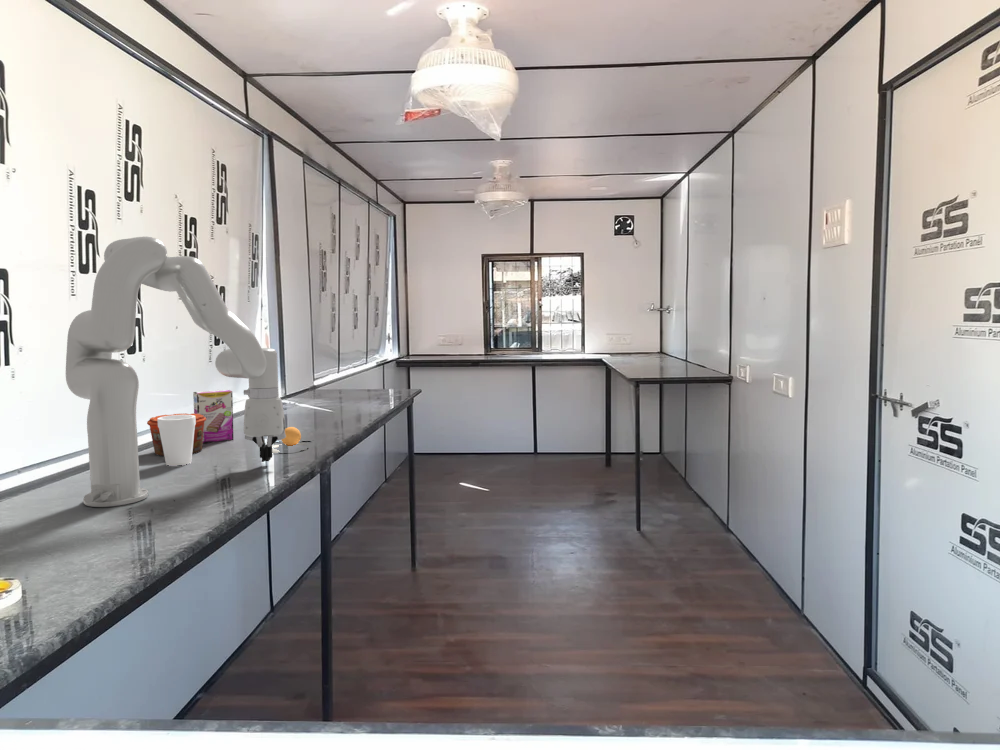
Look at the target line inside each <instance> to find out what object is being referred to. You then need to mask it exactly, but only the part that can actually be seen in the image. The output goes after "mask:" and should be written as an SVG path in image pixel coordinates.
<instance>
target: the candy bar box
mask: <svg viewBox="0 0 1000 750" xmlns="http://www.w3.org/2000/svg"><path fill="white" fill-rule="evenodd" d="M233 400H234V399H233V391H232V390H230V389H220V390H219V389H217V390H201V391H200V390H199V391H193V414H201V415H203V416H204V417H205V418H206V421H205V422H204V430H203V443H202V444H206V443H216V442H222V441H223V442H224V441H232V439H233V440H234V408H233V403H234V402H233Z"/></svg>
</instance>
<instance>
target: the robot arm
mask: <svg viewBox="0 0 1000 750" xmlns="http://www.w3.org/2000/svg"><path fill="white" fill-rule="evenodd" d="M103 259H104V262H103V263H102V264H101V266H100V268H99V269H98V271H97V273H96V275H95V279H94V283H93V290H92V298H91V309H89V310H85V311H83V312H81V313H79V314H77V315H76V316H75V317H74V318H73V320H72V321H71V323H70V325H69V328H68V330H67V331H68V333H67V341H66V355H65V356H66V357H65V358H66V359H65V381H66V385H67V387H68V389H69V391H70V392H71V393H73V394H74V395H75V396H76V397H78V398H81V399H84V400H89V403H88V405H89V406H88V409H87V414H86V415H87V417H86V429H87V430H86V431H87V445H88V447H87V448H88V462H89V479H90V492H89V493H86V494H85V495H84V496H83V499H82V501H83V505H85V506H87V507H93V508H107V507H108V508H109V507H118V506H124V505H130V504H133V503H134V504H135V503H137V502H140V501H143V500H145V499H146V498H148V496H149V491H148V489H147V488H143V487H141V481H140V479H141V478H140V461H139V444H138V443H139V441H138V427H137V402H138V395H139V388H140V387H139V386H140V384H139V377H138V375H137V372H136V370H135V368H133V367H132V366H131V365H130V364H128V363H127V362H126V361H122V360H119V359H116V358H112V355H113V354H112V353H114V354H115V353H120V352H121V353H122V352H124V351H126V350H127V351H128V349H129V348H131V347H132V346H133V343H134V341H135V334H136V316H137V302H138V294H139V290H140V288H141V285H144V286H147V287H150V288H154V289H157V290H160V291H164V292H169V293H170V292H171V293H172V292H176V293H177V295H178V296H179V298H180V300H181V303H182V304H183V305H184V307H185V308H186V310H187V312H188V313H189V316H190V318H191V319H192V321H193V322H194V324H195V325H196V326H198V327H199V328H201V329H202V330H203V331H205V332H207V333H209V334H211V335H212V336H215V337H217V338H218V339H219V340H220V341H222V342H223V343H224V344H225V345H226V346H227V347H228V349H225V350H223V351H220V352H219V353H218V355H217V356H216V358H215V360H214V361H215V362H214V365H215V368H216V370H217V371H218V373H219V374H221V375H222V376H224V377H229V378H236V379H248V389H243V395H244V396H247V397H248V398H247V399H246V400H245V404H244V413H243V433H244V439H245V440H246V441H247V440H248V441H252V442H254V443H255V444H256V445H257V447H258V448H259V458H260V459H261V462H270V460H271V458H272V459H273V454H272V446H273V445H274V444H275V442H276V441H282V440H281V439H284V438H285V437H286V434H285V429H286V418H285V411H284V406H283V405H284V404H283V400H282V398H281V397H279V395H280V394H279V371H278V370H279V369H278V366H279V365H278V352H277V349H275V348H269V347H262V346H261V345H260V343H259V341H258V339H257V337H256V336H255V334H254V333H253V332H252V330H251V329H250V328H249V327H248V326H247V325H246V324H245V323H244V322H243V321H242V320H241V319H239V318H238V316H237V315H235V314H234V313H233V312H232V311H231V310H229V308H228V307H227V305H226V303H225V301H224V300H223V298H222V296H221V294H220V292H219V290H218V289H217V287H216V285H215V282H214V281H213V280H212V278H211V276H210V274H209V272H208V270H207V268H206V266H205V265H204V263H203V262H202V261H201V260H200V259H198V258H196V257H195V256H189V255H187V256H186V255H179V256H168V249H167V248H166V245H165V244H164V243H163V242H162V241H161V240H160V239H157V238H156V237H151V236H137V237H131V238H123V239H118V240H114V241H112V242H111V243H109V244H108V245H107V246H106V248H105V250H104V252H103ZM265 437H267V438H266V442H265Z"/></svg>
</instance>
